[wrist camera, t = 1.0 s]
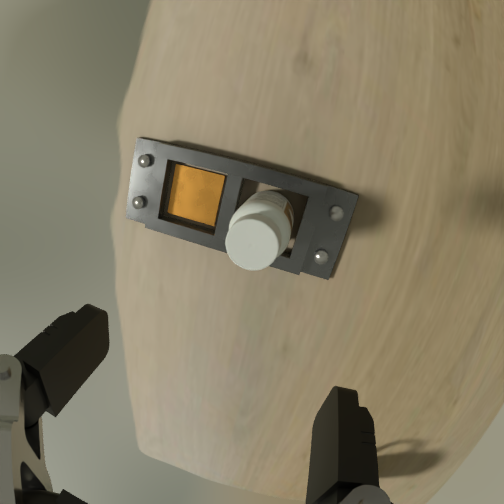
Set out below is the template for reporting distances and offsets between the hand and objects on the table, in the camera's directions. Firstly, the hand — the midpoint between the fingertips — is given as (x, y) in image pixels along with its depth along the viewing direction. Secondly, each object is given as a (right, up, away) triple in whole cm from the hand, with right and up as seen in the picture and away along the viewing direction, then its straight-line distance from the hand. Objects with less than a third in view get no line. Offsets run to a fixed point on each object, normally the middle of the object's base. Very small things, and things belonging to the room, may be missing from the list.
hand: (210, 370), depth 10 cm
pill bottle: (+3, +7, +17) cm, 19 cm away
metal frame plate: (0, +8, +17) cm, 19 cm away
